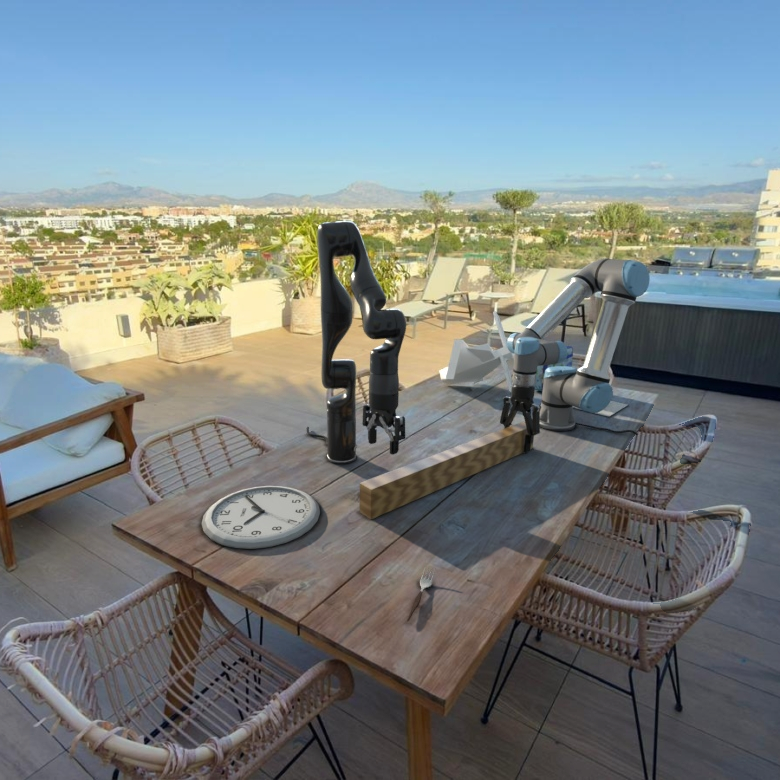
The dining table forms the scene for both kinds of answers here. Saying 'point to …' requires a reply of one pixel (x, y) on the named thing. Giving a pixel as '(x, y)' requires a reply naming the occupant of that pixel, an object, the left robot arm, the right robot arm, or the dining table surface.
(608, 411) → the invitation card
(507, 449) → the post
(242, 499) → the wall clock
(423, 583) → the fork
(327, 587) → the dining table surface
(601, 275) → the right robot arm
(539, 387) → the lunch box
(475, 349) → the white plastic object
